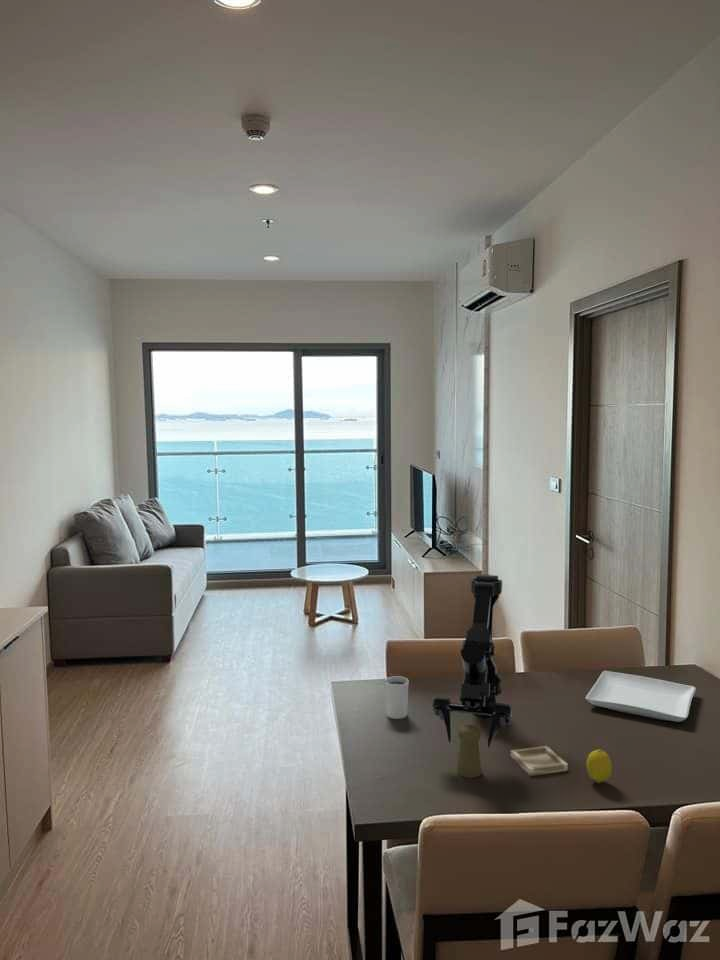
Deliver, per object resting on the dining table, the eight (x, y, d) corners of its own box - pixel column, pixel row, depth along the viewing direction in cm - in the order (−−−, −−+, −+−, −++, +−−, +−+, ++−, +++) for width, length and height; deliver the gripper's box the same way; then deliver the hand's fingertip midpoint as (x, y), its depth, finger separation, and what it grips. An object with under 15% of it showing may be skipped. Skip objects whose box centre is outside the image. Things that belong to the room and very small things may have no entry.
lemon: (582, 777, 170) (583, 744, 169) (604, 776, 170) (606, 743, 170) (591, 789, 164) (592, 755, 164) (615, 788, 165) (616, 754, 164)
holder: (510, 756, 180) (510, 750, 180) (546, 751, 183) (546, 745, 182) (529, 776, 170) (530, 769, 170) (567, 770, 173) (567, 764, 173)
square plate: (686, 730, 196) (687, 716, 195) (583, 710, 209) (584, 697, 209) (696, 696, 219) (696, 684, 219) (603, 680, 233) (603, 668, 232)
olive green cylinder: (466, 780, 169) (466, 734, 167) (451, 768, 174) (451, 724, 173) (487, 774, 171) (487, 729, 170) (471, 763, 177) (472, 719, 176)
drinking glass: (403, 708, 209) (403, 675, 208) (411, 717, 203) (412, 683, 202) (381, 711, 207) (381, 677, 206) (389, 720, 201) (389, 686, 200)
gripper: (434, 664, 177) (426, 726, 167) (511, 671, 172) (508, 736, 163) (438, 684, 185) (431, 744, 176) (513, 691, 180) (509, 754, 171)
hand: (469, 744), depth 171 cm, fingers open, 9 cm apart
